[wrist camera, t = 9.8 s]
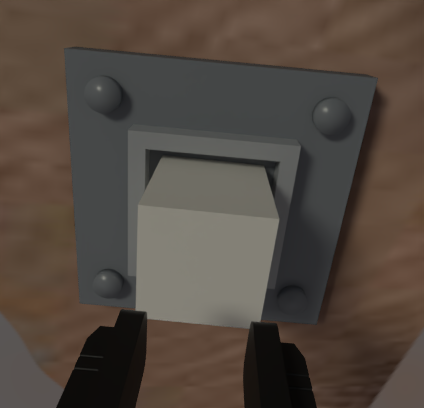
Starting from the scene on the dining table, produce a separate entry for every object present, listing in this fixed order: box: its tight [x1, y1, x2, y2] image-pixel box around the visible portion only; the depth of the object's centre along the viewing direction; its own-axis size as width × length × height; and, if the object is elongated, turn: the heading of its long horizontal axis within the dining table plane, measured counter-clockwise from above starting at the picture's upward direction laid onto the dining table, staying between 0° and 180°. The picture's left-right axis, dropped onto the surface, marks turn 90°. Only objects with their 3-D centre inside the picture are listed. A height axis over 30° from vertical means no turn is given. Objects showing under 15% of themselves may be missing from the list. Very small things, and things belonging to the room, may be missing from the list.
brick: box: [136, 155, 279, 329], centre depth 18 cm, size 5×5×6 cm
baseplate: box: [64, 47, 378, 325], centre depth 20 cm, size 14×14×3 cm
